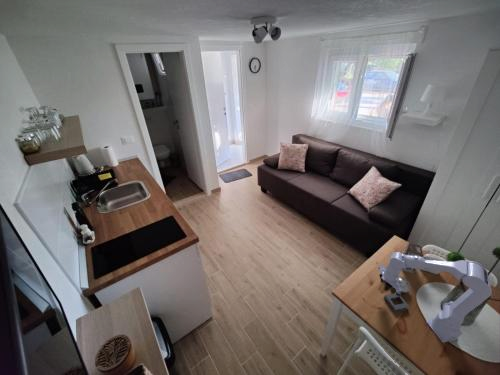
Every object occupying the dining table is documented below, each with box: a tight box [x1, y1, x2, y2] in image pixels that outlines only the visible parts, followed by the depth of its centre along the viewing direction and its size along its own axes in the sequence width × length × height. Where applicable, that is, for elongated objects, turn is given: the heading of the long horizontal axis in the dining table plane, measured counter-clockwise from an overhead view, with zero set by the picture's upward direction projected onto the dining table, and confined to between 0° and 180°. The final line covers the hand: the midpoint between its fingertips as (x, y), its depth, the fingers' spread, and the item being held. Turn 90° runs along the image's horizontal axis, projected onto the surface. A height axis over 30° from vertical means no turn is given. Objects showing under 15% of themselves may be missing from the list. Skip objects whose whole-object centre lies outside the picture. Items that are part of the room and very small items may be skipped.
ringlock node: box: [383, 275, 412, 313], centre depth 119 cm, size 17×17×7 cm
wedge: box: [378, 281, 391, 294], centre depth 114 cm, size 2×4×7 cm, turn 99°
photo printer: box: [422, 253, 446, 275], centre depth 129 cm, size 10×4×12 cm, turn 61°
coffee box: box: [401, 242, 424, 274], centre depth 131 cm, size 9×6×16 cm
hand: (384, 287), depth 115 cm, fingers closed on wedge, 2 cm apart
